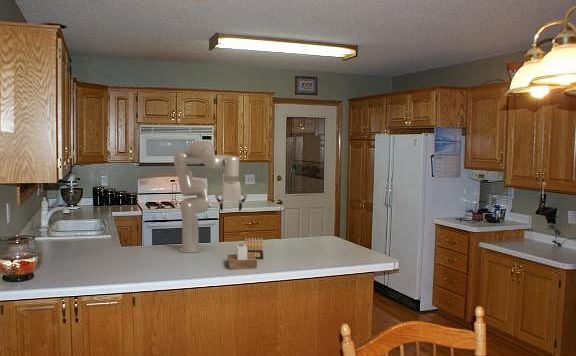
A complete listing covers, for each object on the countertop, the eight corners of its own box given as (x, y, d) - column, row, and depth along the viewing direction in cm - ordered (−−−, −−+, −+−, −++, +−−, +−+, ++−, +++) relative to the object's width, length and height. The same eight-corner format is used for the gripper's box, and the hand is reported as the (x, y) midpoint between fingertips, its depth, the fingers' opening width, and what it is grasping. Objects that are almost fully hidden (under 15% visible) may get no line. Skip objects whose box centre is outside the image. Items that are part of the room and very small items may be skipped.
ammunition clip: (244, 258, 284) (244, 237, 283) (244, 258, 286) (244, 237, 285) (263, 259, 283) (263, 238, 282) (263, 258, 285) (263, 237, 284)
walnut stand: (227, 262, 276) (227, 254, 275) (253, 261, 278) (253, 254, 278) (229, 269, 260) (229, 261, 260) (256, 268, 262) (256, 260, 262)
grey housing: (237, 259, 264) (237, 247, 263) (236, 256, 273) (236, 243, 272) (247, 259, 265) (247, 246, 264) (245, 255, 274) (245, 243, 273)
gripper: (215, 179, 267) (214, 211, 268) (248, 180, 270) (247, 211, 271) (214, 178, 274) (214, 209, 276) (246, 178, 277) (246, 209, 279)
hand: (230, 210), depth 274 cm, fingers open, 9 cm apart
